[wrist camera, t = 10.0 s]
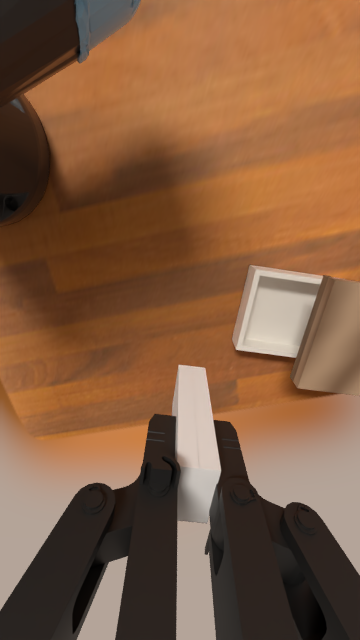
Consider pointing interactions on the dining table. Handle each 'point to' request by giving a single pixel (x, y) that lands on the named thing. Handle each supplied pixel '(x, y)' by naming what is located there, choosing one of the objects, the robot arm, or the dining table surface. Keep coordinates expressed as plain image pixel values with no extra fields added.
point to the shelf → (331, 340)
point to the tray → (275, 310)
